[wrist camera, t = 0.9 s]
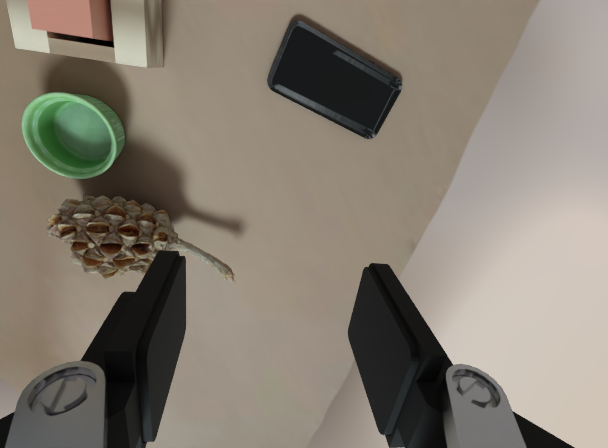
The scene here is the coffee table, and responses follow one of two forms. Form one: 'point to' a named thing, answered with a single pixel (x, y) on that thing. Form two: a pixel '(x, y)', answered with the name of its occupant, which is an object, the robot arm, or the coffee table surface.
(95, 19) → the brick key
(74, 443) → the robot arm
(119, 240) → the pine cone
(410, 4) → the coffee table surface
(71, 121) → the ramekin
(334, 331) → the coffee table surface
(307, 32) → the phone
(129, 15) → the wooden compartment tray
